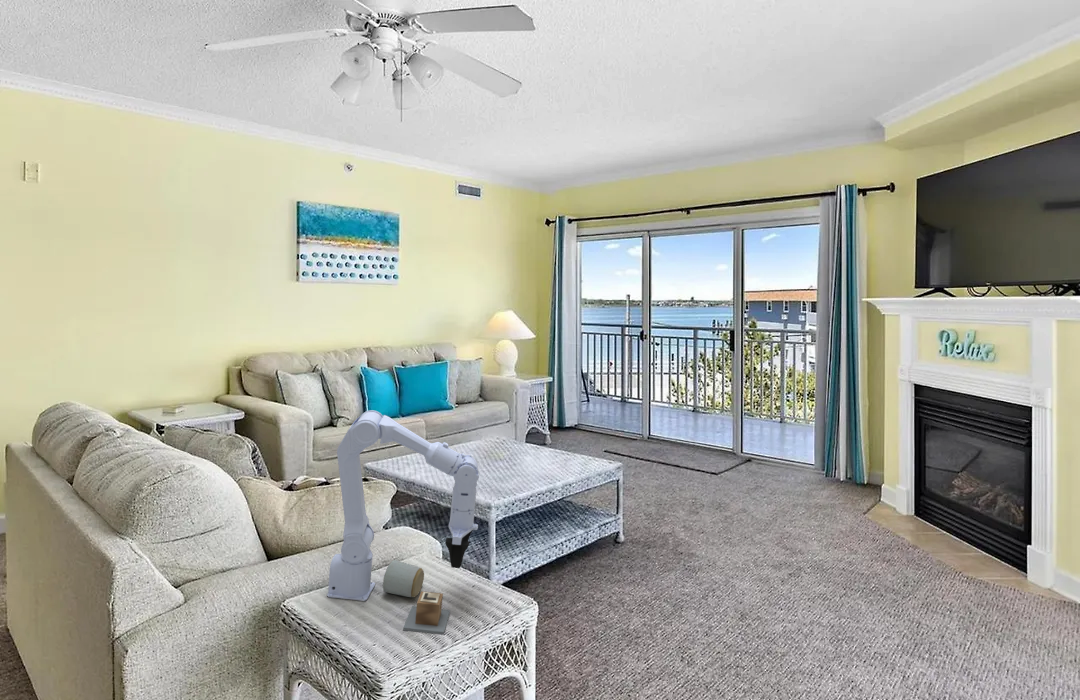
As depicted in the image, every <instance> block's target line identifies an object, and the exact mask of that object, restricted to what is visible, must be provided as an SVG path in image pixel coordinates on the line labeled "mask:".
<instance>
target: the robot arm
mask: <svg viewBox="0 0 1080 700" xmlns="http://www.w3.org/2000/svg"><path fill="white" fill-rule="evenodd" d="M379 440H380V442H379V444H380V445H382V444H387V443H391V442H393V443H397V444H399V445H401V446H403V447H405V448H407V449H409V450H412V451H414V452H415V453H418V454H420V455H422V456H423V457H424V459H425V463H426V464H428V465H430V466H431V467H433V468H435V469H437V470H438V471H441V472H442V473H444V474H445V475H448V476H451V477H453V480H454V485H453V487H452V494H451V504H450V505H451V506H450V515H449V516H450V518H449V523H448V529H449V531H450V533H451V536H452V537H446V539H445V546H446V548H447V550H448V554H449V559H450V562H449V563H450V567H451V568H453V569H461V567H462V562H463V559H464V557H465V553H466V551H467V549H468V548H469V546H470V544H471V541H470V540H469V539H470V536H471V534H472V532H473V531H477V530H478V528H479V524H477V523H474V520H475V511H476V500H477V485H478V484H477V483H478V480H479V478H480V475H479V464H478V461H477V460H476V459H475V458H474V457H473V456H472V455H471V454H465V453H464V452H462V453H460V452H458V451H456V450H454V449H453V448H451V447H449V443H447V442H446V441H443V442H440V441H436V442H429V441H428V440H426V439H425V438H423V437H422V436H420V435H418V434H417V433H415V432H413V431H411V430H410V429H408V428H407V427H406V426H404V425H402V424H400V423H398V422H397V421H396V420H394V419H392V418H391V417H390V416H388V415H386V414H382V413H381V412H379V411H377V410H373V409H372V410H366V411H365V412H363V413H361V415H359V416H358V417H357V418H355V420H354V421H353V422H352V424H351V425H350V426H349V428H348V430H347V431H346V433H345V434H344V437H343V438H342V440H341V441H340V443H339V445H338V446H337V449H336V457H337V464H338V472H339V473H338V474H339V481H340V489H341V491H340V492H341V501H342V508H343V509H342V510H343V516H344V525H343V526H344V527H343V534H342V535H343V543H342V545H341V548H340V553H335V554H334V555H333V557H332V559H331V562H330V565H329V571H328V573H329V574H328V586H327V587H328V588H327V589H328V590H327V594H326V597H327V596H328V597H327V598H334V599H342V600H343V599H345V600H352V601H353V600H354V601H362V602H366V601H367V600H368V599H369V597H370V595H371V593H372V592H373V589H374V588H375V586H376V582H371V580H372V568H373V552H372V550H371V545H372V543H373V541H374V538H375V531H374V529H373V527H372V525H370V524H371V523H370V520H369V517H368V515H367V512H366V502H365V494H364V493H365V492H364V484H363V476H362V475H363V473H362V463H361V457H360V456H361V455H360V454H361V453H362V452H363V451H364V450H365V449H367V448H368V447H371V446H373V445H374V444H376V443H377V442H378V441H379Z"/></svg>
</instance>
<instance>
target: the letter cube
mask: <svg viewBox="0 0 1080 700" xmlns="http://www.w3.org/2000/svg"><path fill="white" fill-rule="evenodd" d="M443 596H444V594H443V593H441V592H432V591H431V592H430V591H423V590H420V593H419V597H418V599H417V602H416V606H417V609H416V621H415V624H424V625H433V626H438V622H439V619H440V616H441V609H443Z"/></svg>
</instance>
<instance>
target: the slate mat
mask: <svg viewBox="0 0 1080 700" xmlns="http://www.w3.org/2000/svg"><path fill="white" fill-rule="evenodd" d="M410 608H411V609H410V610H409V613H408V614H407V618H406V620H405V622H404V625H403V628H402V631H409V632H418V633H424V634H425V633H427V634H436V635H442V636H443V635H444V634H445V631H446V627H447V624H448V621H449V616H450V614H451V609H447V608H446V609H445V608H442V609H441V616H440V619H439V622H438V626H433V625H424V624H415V621H416V609H417V605H412V606H411V607H410Z"/></svg>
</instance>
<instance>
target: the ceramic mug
mask: <svg viewBox="0 0 1080 700" xmlns="http://www.w3.org/2000/svg"><path fill="white" fill-rule="evenodd" d="M424 580H425V572H424V569H423V568H422V567H420V566H418V565H414V564H410V563H407V562H404V561H402V560H401V561H400V560H398V559H393V560H392V561H390V563H389V564H388V565H387V567H386V570H385V572H384V577H383V582H382V590H383V592H384V593H387V594H392V595H395V596H396V595H397V596H402V597H405V598H416V597H417V596H418V595H420V593H421V591H422V587H423V584H424Z"/></svg>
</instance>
